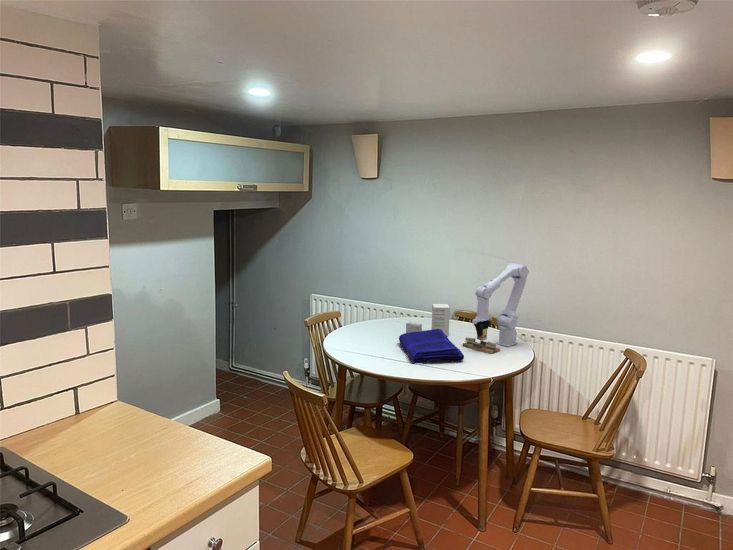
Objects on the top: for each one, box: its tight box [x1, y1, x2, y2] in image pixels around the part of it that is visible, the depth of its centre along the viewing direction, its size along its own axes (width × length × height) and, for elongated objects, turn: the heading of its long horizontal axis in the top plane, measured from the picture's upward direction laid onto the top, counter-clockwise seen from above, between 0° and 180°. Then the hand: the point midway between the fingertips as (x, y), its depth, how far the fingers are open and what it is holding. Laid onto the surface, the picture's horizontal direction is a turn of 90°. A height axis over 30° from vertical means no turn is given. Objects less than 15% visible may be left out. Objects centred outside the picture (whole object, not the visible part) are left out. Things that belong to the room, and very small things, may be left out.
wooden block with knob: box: [476, 327, 488, 341], centre depth 282 cm, size 4×4×6 cm
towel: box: [398, 329, 465, 364], centre depth 276 cm, size 26×36×9 cm
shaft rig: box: [462, 336, 501, 355], centre depth 283 cm, size 8×18×4 cm, turn 43°
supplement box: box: [431, 303, 451, 337], centre depth 309 cm, size 10×9×17 cm
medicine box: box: [405, 321, 423, 333], centre depth 300 cm, size 8×4×9 cm, turn 59°
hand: (481, 334), depth 283 cm, fingers closed on wooden block with knob, 4 cm apart
